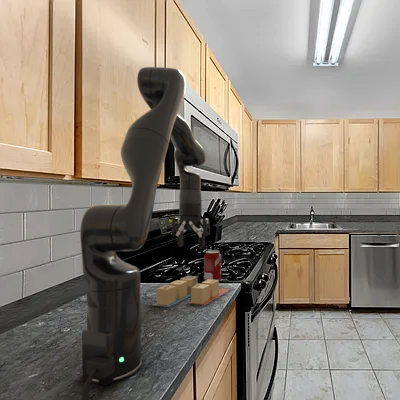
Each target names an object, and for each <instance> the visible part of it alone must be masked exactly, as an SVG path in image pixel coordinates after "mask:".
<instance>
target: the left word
mask: <svg viewBox="0 0 400 400" xmlns="http://www.w3.org/2000/svg"><path fill="white" fill-rule="evenodd" d="M155 293H156V294H155V295H156V302H155V303H152V304H151V306H157V307H166V308H169V307H172V306H173V305H175V304H177V303H180V302H181V301H183V300H185V299H187V298H189V297H191V294H189V293H187V281H180V280H178V279H176V280H174V281H172V282H169V283H168V284H164V285H162V286H159V287H157V288H156V290H155Z"/></svg>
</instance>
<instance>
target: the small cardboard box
mask: <svg viewBox="0 0 400 400" xmlns="http://www.w3.org/2000/svg"><path fill="white" fill-rule="evenodd" d="M180 281H187V293H189V294H191V288H192V287H194V286H196V285H198V276H193V275H187V276H184V277H181V278H180Z"/></svg>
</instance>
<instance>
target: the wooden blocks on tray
mask: <svg viewBox="0 0 400 400" xmlns="http://www.w3.org/2000/svg"><path fill="white" fill-rule="evenodd" d="M230 290H231V288H223V287H222V288H221V287H220V280H211V279H208V280H206V281H205V280H204V281H202V282H201V283H197V285H196V286H194V287H192V288H191V296H190V299H191V300H190V301H189V302H188V304H192V305H201V306H206V305H208V304H209V303H210V302H212V301H214V300H215V299H217V298H219V297H220V296H222V295H224V294H226V292H229V291H230Z"/></svg>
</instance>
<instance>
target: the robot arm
mask: <svg viewBox="0 0 400 400" xmlns="http://www.w3.org/2000/svg"><path fill="white" fill-rule="evenodd" d="M136 84H137V88H138V91H139V94H140V96H141V97H142V99H143V101H144V102H145V104H146V105H147V106H148V108H149V110H148V111H147V112H145V113H143V114H142V115H140V116H139V117H138V118H137V119H135V121H133V123H131V124H130V126H129V127H128V129H127V131H126V133H125V136H124V138H123V142H122V145H121V147H120V158H121V162H122V164H123V166H124V169H125V171H126V173H127V175H128V177H129V179H130V183H131V191H130V196H129V199H128V202H127V203H126V204H97V205H92V206H90V207H89V208H88V209H87V210H86V211H84V214H83V216H82V219H81V221H80V227H79V228H80V229H79V230H80V231H79V238H80V239H79V240H80V252H81V267H82V268H81V269H82V274H83V277H84V280H85V282H86V329H83V330H82V332H81V352H82V353H81V355H82V358H81V359H82V360H81V361H82V363H81V364H82V365H81V367H82V381H83V382H84V385H83V387H82V391H81V400H89V387H90V385H91V383H94V384H97V385H98V384H99V385H104V386H110V385H111V384H113V383H115V382H117V381H121V380H123V379H126V378H128V377H130V376H132V375H133V374H135V373H136V372H138V371H139V370H140V368H141V367H142V365H143V360H142V312H141V311H142V308H141V304H142V303H141V300H142V299H141V297H142V294H141V291H142V290H141V288H142V287H141V280H142V279H141V275H142V274H141V270H140V268H139V267H137V266H135V265H133V264H130V263H128V262H126V261H124V260H123V259H121V258H120V256H118V254H117V252H135V251H138V250H140V249H141V248H142V247H143V246H144V245H145V243H146V241H147V239H148V236H149V233H150V229H151V223H152V218H153V212H154V206H155V201H156V193H157V189H158V184H159V181H160V177H161V174H162V170H163V166H164V163H165V159H166V157H167V153H168V149H169V146H170V142H171V143H172V144H173V147H174V148H175V150H174V154H173V156H174V157H173V158H174V161H175V164H176V167H177V171H178V175H179V197H178V198H179V201H178V202H179V203H178V204H179V205H178V208H179V209H178V211H179V215H180V217H173V218H172V219H171V235H174V236H176V245H177V247H179V248H181V247H184V234H185V232H186V231H194V232H195V233H196V234H197V236H198V248H199V249H202V248H205V247H204V246H205V245H206V239H205V238H206V237H207V236H210V235H211V225H210V218H202V212H203V211H202V209H203V207H202V204H203V203H202V201H203V200H202V187H201V186H202V184H201V178H202V177H201V175H200V174H199V173H198V172H197V173H196V172H192V171H189V170H188V167H202V166H203V165H204V164H205V163H206V160H207V155H206V150H205V149H204V147H203V146H202V145H201V144H200V143H199V142H198V140H197V139H196V137H195V136H194V133H193V131H192V128H191V127H190V125H189V123H188V122H187V120H185V119H184V118H183V117H182V116H181V115H179V112H180V110H181V107H182V105H183V102H184V100H185V96H186V91H187V82H186V77H185V75H184V74H183V72H182V71H181V70H179V69H177V68H173V67H163V66H161V67H159V66H144V67H141V68H140V69H139V70H138V72H137V78H136ZM170 140H171V141H170Z"/></svg>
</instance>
